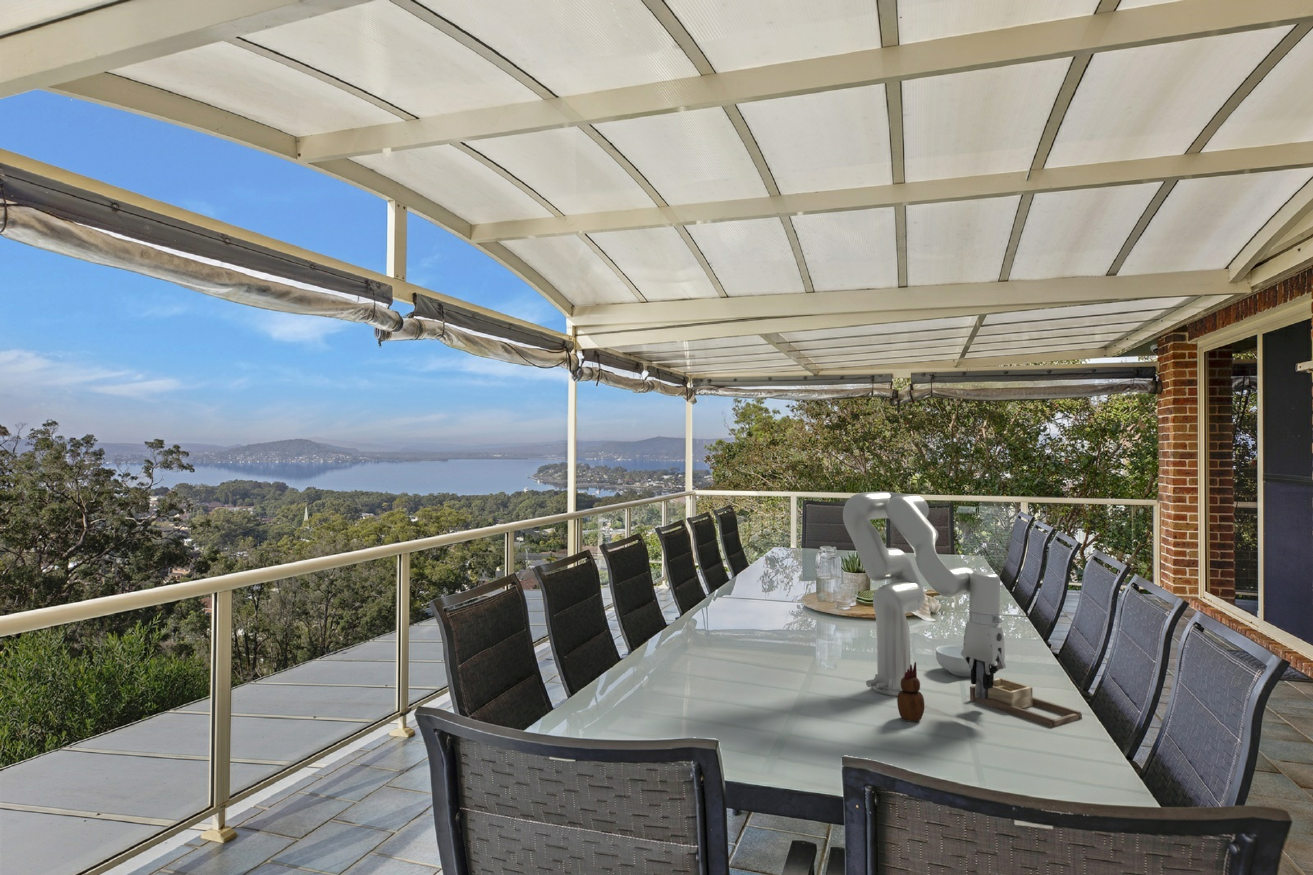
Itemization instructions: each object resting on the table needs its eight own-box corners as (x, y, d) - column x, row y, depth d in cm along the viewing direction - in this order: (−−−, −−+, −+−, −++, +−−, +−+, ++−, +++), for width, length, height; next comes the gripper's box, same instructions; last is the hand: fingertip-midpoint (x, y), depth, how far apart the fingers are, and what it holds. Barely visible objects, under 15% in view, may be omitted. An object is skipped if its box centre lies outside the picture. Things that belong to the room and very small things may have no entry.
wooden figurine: (919, 715, 199) (918, 659, 199) (927, 723, 193) (926, 665, 193) (894, 716, 198) (893, 660, 199) (902, 723, 193) (901, 666, 193)
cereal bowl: (998, 682, 227) (997, 659, 227) (941, 680, 230) (940, 657, 230) (985, 667, 243) (984, 645, 244) (932, 664, 247) (931, 643, 247)
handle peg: (982, 700, 197) (983, 663, 197) (972, 696, 200) (973, 659, 200) (990, 698, 199) (991, 661, 199) (980, 694, 202) (981, 658, 202)
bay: (1051, 732, 186) (1050, 712, 186) (970, 704, 207) (969, 686, 207) (1082, 723, 192) (1081, 703, 192) (1000, 697, 213) (1000, 679, 213)
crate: (1011, 711, 198) (1011, 692, 198) (979, 700, 207) (979, 682, 207) (1032, 705, 202) (1032, 687, 202) (1000, 695, 211) (1000, 677, 211)
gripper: (1020, 624, 194) (1018, 693, 194) (967, 610, 208) (965, 674, 208) (1001, 627, 190) (999, 698, 190) (949, 612, 205) (947, 678, 205)
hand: (981, 685), depth 199 cm, fingers closed on handle peg, 3 cm apart
